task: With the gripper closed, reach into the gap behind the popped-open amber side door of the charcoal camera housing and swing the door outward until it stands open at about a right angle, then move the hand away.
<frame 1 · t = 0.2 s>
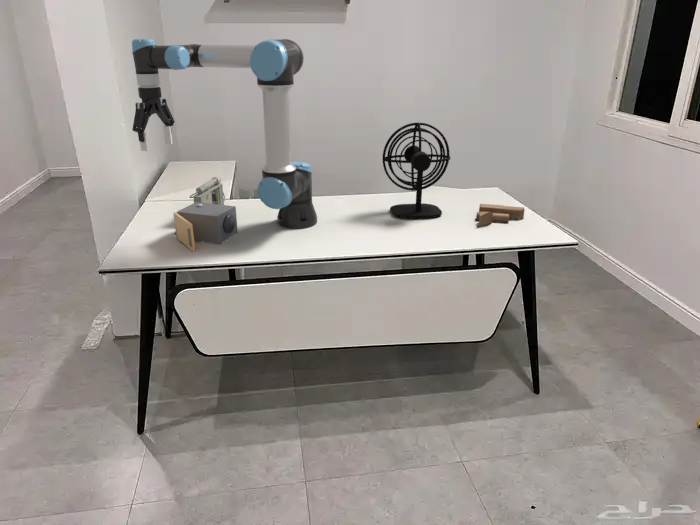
hand: (157, 147, 199), 28 cm above the table, tool pointing down, fingers open, 13 cm apart
desk fan: (415, 212, 219), on the table
geiger counter: (212, 214, 217), on the table
wooden block set: (499, 223, 210), on the table
camera housing: (209, 235, 194), on the table
side door: (183, 231, 183), point 5 cm above the table, hinge at 35.0°
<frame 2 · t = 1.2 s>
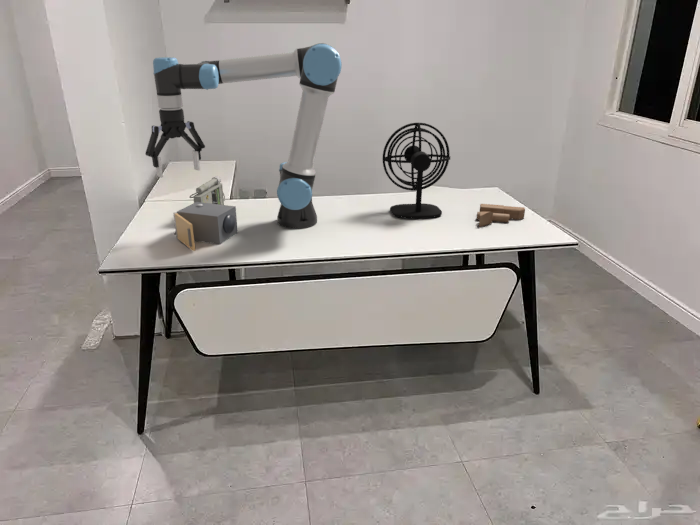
hand: (179, 173, 184), 23 cm above the table, tool pointing down, fingers open, 13 cm apart
nothing on the table moved.
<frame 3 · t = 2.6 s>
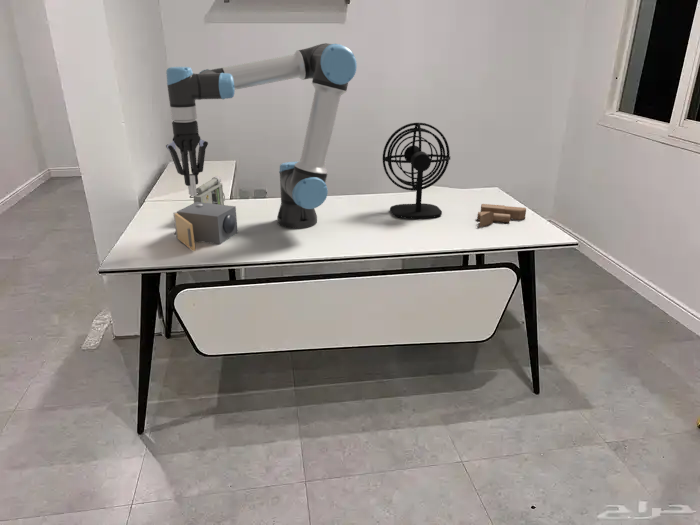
hand: (192, 194, 176), 18 cm above the table, tool pointing down, fingers closed
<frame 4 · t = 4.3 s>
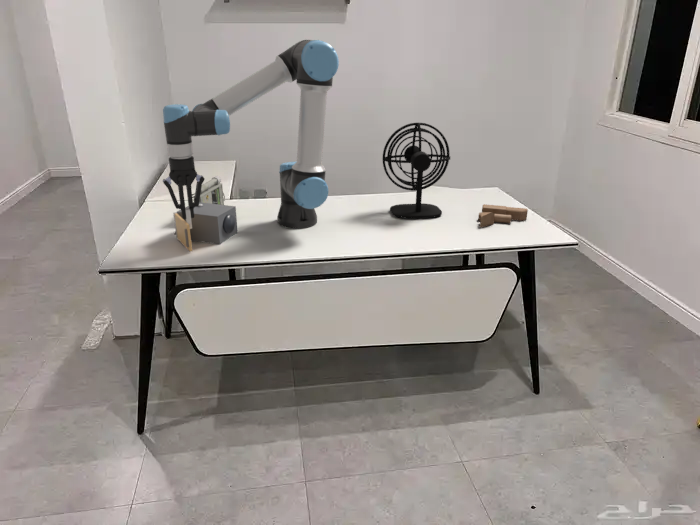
hand: (189, 227, 179), 8 cm above the table, tool pointing down, fingers closed
side door: (182, 231, 182), point 5 cm above the table, hinge at 39.0°, touching gripper
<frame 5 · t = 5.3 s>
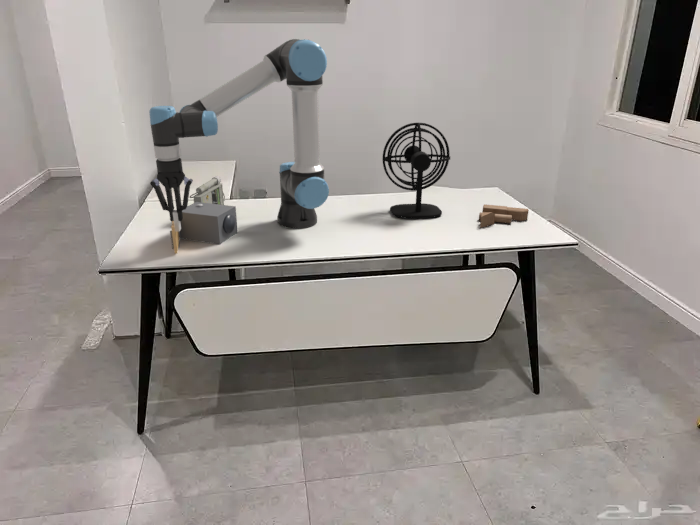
hand: (178, 230, 177), 7 cm above the table, tool pointing down, fingers closed
side door: (175, 232, 182), point 5 cm above the table, hinge at 58.1°, touching gripper
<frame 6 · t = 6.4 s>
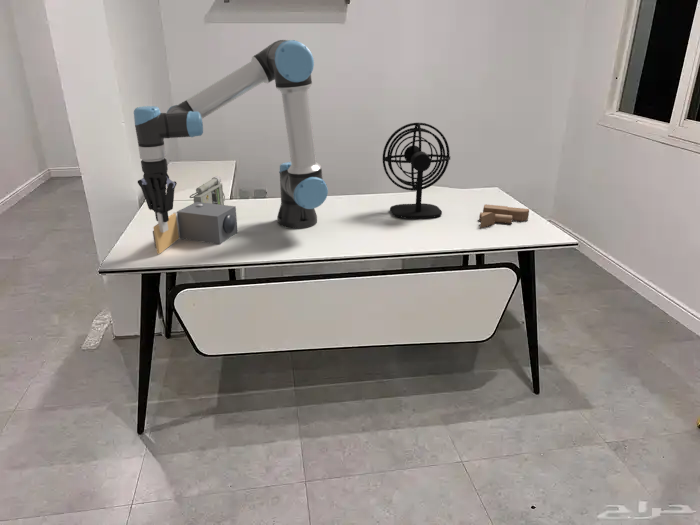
hand: (164, 230, 177), 7 cm above the table, tool pointing down, fingers closed
side door: (166, 232, 182), point 5 cm above the table, hinge at 80.7°, touching gripper
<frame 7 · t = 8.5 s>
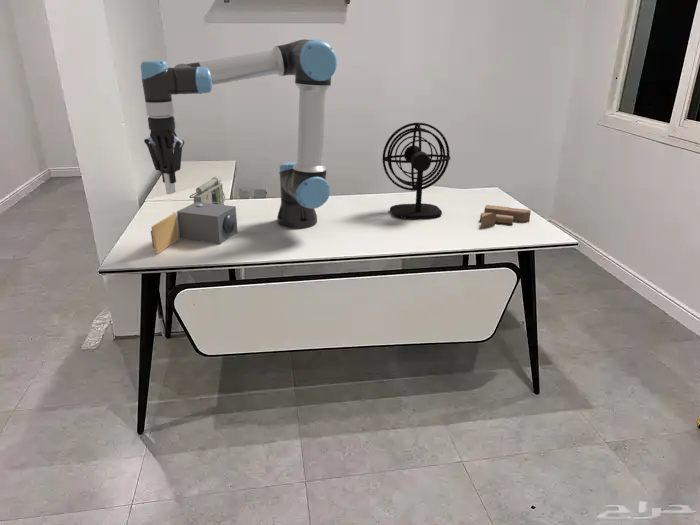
hand: (171, 192, 171), 20 cm above the table, tool pointing down, fingers closed
side door: (165, 232, 182), point 5 cm above the table, hinge at 83.5°
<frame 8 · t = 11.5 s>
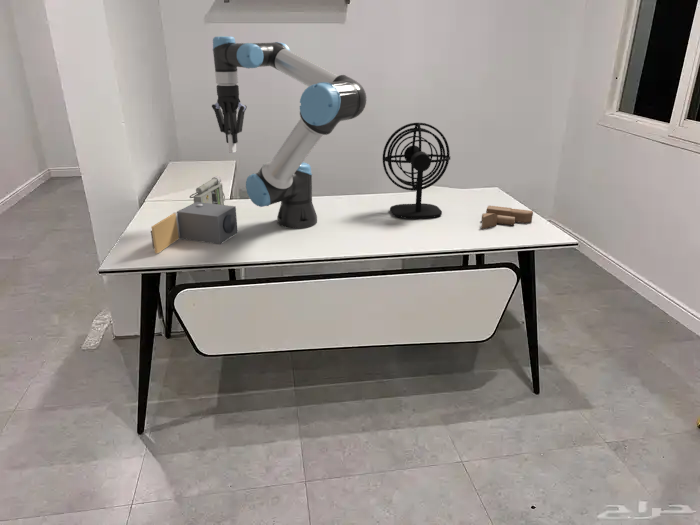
hand: (232, 152, 198), 26 cm above the table, tool pointing down, fingers closed
at the end: side door at +84° (first picture: +35°) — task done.
